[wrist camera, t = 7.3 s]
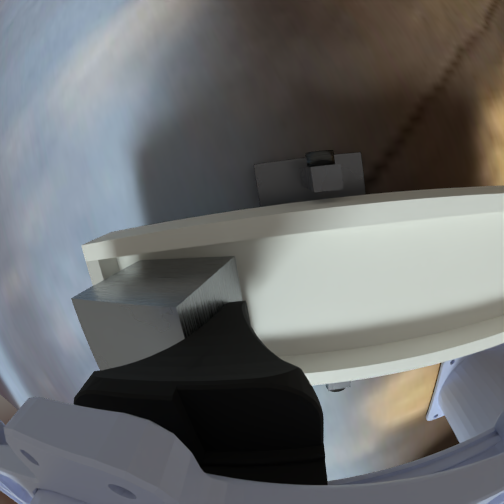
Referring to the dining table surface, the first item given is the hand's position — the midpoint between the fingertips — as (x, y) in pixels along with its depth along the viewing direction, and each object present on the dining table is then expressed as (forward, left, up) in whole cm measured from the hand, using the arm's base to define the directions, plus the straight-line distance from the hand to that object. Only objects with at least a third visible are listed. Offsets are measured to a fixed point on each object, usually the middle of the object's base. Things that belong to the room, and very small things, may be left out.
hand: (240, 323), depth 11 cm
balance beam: (-4, 0, -2) cm, 5 cm away
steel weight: (+2, 0, -2) cm, 3 cm away
